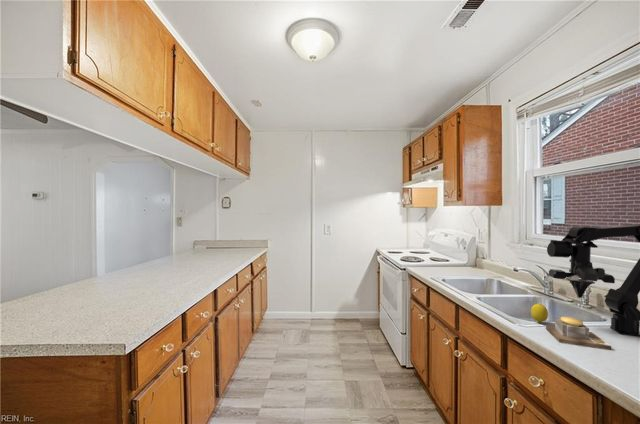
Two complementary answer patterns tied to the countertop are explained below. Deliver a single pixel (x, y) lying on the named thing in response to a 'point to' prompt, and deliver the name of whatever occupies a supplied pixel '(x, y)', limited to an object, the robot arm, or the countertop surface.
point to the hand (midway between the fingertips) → (579, 297)
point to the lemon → (539, 312)
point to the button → (571, 321)
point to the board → (576, 335)
